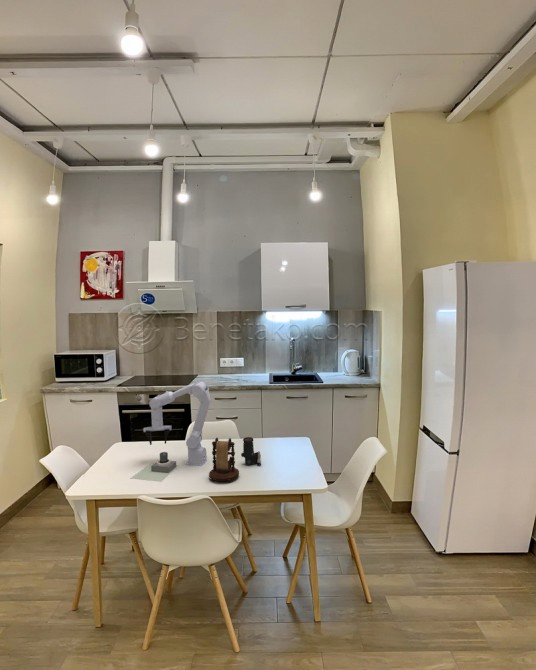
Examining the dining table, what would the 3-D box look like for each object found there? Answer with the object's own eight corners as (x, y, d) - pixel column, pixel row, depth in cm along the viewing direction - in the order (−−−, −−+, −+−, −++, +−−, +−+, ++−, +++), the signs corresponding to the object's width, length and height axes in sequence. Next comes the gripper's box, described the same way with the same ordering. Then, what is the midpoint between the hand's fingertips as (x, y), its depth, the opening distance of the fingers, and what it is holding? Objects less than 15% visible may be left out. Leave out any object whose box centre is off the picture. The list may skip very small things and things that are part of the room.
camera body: (176, 466, 218) (176, 459, 218) (169, 473, 210) (168, 465, 210) (159, 465, 221) (158, 457, 220) (151, 471, 213) (151, 463, 213)
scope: (260, 440, 217) (241, 441, 215) (261, 466, 218) (242, 467, 217) (258, 435, 225) (240, 436, 224) (259, 460, 226) (240, 461, 225)
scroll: (205, 483, 199) (203, 442, 197) (214, 470, 214) (213, 432, 212) (235, 484, 197) (233, 443, 195) (242, 472, 211) (241, 433, 209)
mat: (179, 466, 220) (179, 465, 220) (161, 482, 201) (160, 481, 201) (151, 463, 224) (151, 463, 224) (130, 479, 205) (129, 478, 205)
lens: (169, 462, 217) (169, 452, 216) (165, 465, 213) (165, 454, 212) (162, 461, 218) (162, 451, 217) (158, 464, 214) (158, 453, 213)
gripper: (171, 416, 230) (172, 440, 231) (143, 418, 227) (145, 442, 228) (170, 419, 223) (171, 444, 224) (142, 421, 220) (143, 446, 221)
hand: (158, 443), depth 225 cm, fingers open, 7 cm apart
